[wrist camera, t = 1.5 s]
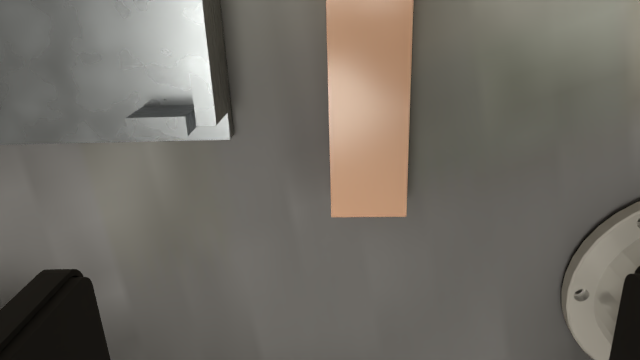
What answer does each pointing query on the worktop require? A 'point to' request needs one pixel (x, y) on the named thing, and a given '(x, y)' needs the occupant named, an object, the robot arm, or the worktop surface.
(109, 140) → the drying rack
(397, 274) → the worktop surface
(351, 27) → the clay strip
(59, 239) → the worktop surface
